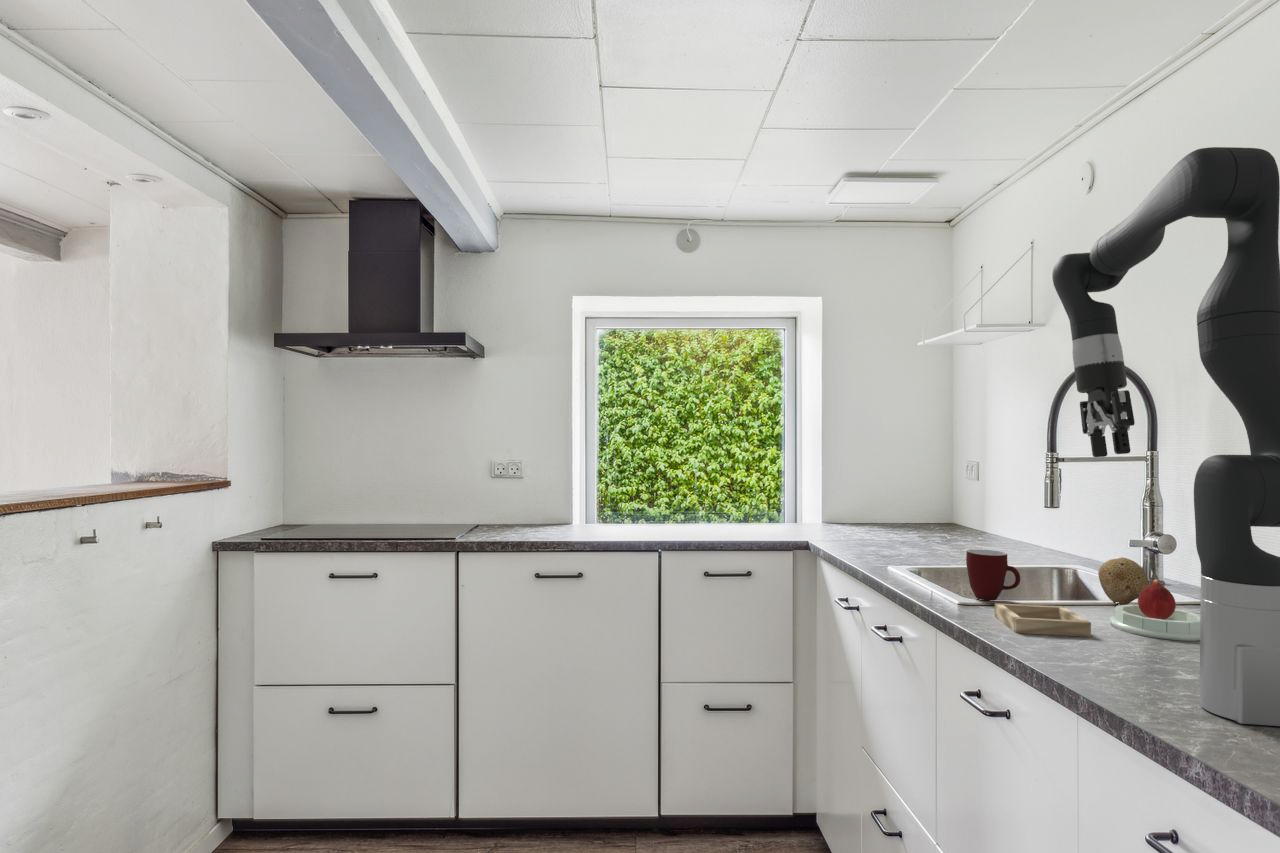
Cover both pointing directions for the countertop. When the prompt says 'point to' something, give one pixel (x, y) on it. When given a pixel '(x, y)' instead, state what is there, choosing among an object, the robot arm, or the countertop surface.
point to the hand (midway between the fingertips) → (1111, 455)
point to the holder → (1042, 620)
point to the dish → (1157, 624)
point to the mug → (989, 573)
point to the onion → (1156, 601)
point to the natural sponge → (1122, 580)
